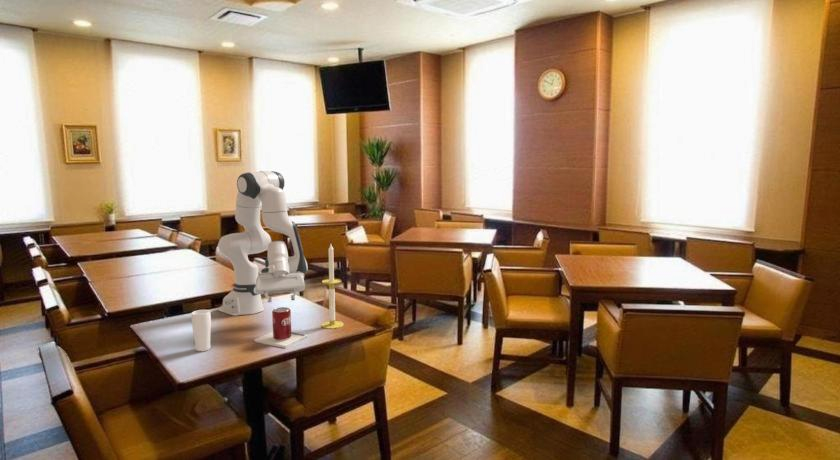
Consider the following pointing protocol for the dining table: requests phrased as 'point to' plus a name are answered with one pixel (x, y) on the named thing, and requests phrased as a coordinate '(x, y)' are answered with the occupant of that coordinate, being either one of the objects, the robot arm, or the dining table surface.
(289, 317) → the soda can
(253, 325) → the dining table surface
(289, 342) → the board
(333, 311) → the candle
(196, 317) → the drinking glass
